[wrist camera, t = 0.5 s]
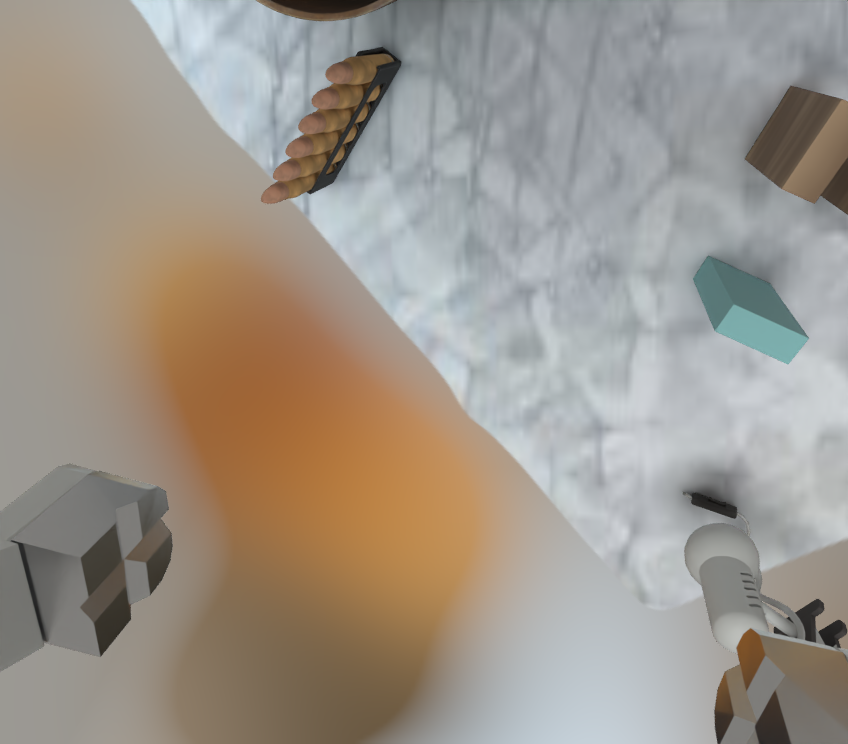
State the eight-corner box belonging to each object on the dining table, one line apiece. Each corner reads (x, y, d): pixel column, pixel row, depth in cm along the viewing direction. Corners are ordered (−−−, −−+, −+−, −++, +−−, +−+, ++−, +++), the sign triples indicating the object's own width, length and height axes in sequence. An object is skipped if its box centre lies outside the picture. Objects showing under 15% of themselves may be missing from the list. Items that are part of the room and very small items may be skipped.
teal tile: (753, 306, 49) (788, 364, 41) (693, 278, 49) (714, 331, 41) (769, 283, 48) (809, 338, 40) (708, 255, 48) (733, 304, 40)
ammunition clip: (381, 46, 47) (321, 49, 36) (402, 62, 47) (349, 70, 37) (313, 169, 52) (243, 203, 42) (332, 183, 52) (268, 220, 42)
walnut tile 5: (744, 158, 45) (781, 188, 36) (790, 85, 42) (842, 99, 34) (771, 170, 45) (814, 203, 36) (818, 98, 42) (877, 114, 34)
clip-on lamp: (806, 522, 56) (890, 706, 41) (749, 562, 60) (808, 748, 44) (699, 446, 55) (744, 606, 40) (648, 492, 59) (670, 656, 43)
